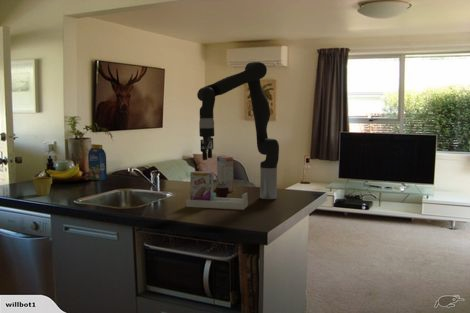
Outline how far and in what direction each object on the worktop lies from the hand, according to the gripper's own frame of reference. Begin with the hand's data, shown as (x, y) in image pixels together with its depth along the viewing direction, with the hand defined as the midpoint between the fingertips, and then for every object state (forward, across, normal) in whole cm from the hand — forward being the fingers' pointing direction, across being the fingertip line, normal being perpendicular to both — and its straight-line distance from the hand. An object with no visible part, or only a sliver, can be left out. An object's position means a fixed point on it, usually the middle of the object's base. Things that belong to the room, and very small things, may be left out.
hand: (207, 158), depth 229 cm
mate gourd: (+25, +18, -2) cm, 30 cm away
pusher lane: (+24, -1, -5) cm, 25 cm away
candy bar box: (+23, -1, +3) cm, 24 cm away
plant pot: (+24, +5, +103) cm, 106 cm away
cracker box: (+25, +44, +3) cm, 51 cm away
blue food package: (+24, +63, +102) cm, 123 cm away
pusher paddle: (+23, -1, -7) cm, 24 cm away
